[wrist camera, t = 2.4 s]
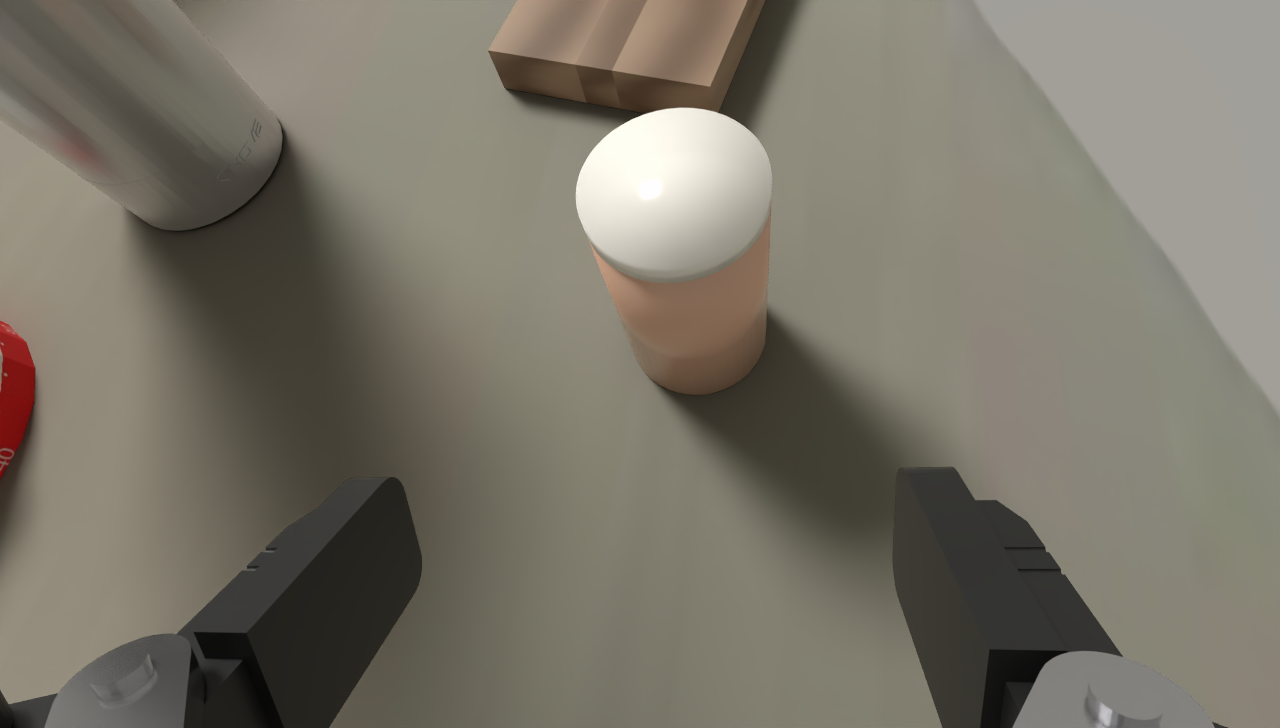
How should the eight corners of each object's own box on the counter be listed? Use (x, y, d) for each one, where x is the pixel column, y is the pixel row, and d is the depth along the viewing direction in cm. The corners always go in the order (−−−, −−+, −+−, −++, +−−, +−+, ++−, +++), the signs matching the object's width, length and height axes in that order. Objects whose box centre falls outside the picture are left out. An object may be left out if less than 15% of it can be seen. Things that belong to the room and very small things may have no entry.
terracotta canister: (611, 372, 28) (545, 242, 19) (658, 261, 30) (617, 94, 21) (742, 412, 27) (736, 290, 18) (782, 291, 29) (796, 125, 20)
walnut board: (504, 87, 36) (487, 50, 34) (587, -60, 40) (577, -102, 38) (713, 125, 33) (710, 86, 31) (782, -39, 37) (783, -85, 34)
